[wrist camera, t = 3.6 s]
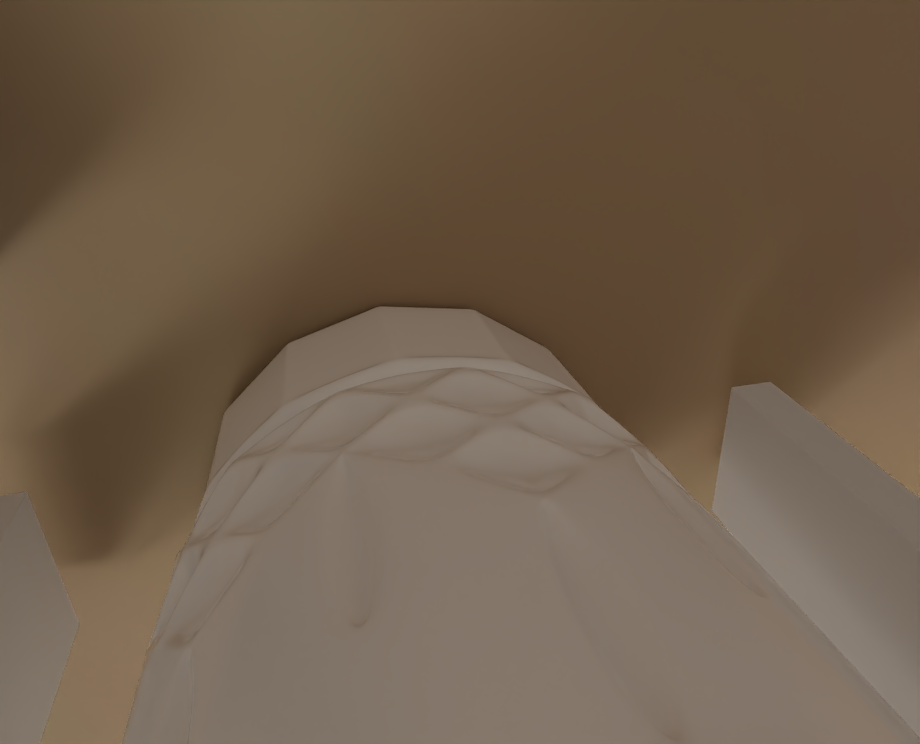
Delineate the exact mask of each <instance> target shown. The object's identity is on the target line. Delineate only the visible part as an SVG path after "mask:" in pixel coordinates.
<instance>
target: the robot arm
mask: <svg viewBox="0 0 920 744" xmlns="http://www.w3.org/2000/svg"><path fill="white" fill-rule="evenodd" d="M712 511H713V513H714V514H715V515H716V516H717V517H718V518H719V520H720V521H721V522H722V523H723V524H724V526H725V527H726V528H727V529H728V530H729V532H730V533H731V534H732V535H733V536H734V538H735V539H736V540H737V541H738V542H739V543H740V544H741V545H742V546H743V547H744V548H745V549H746V550H747V551H748V552H749V553H750V554H751V555H752V556H753V557H754V558H755V559H756V560H757V562H758V563H759V564H760V565H761V566H762V567H763V568H764V569H765V570H766V571H767V572H768V573H769V574H770V575H771V577H772V578H773V579H774V580H775V581H776V582H777V583H778V584H779V585H780V586H781V587H782V588H783V589H784V591H785V592H786V593H787V594H788V595H789V596H790V597H791V598H792V599H793V600H794V601H795V602H796V604H797V605H798V606H799V607H800V608H801V609H802V610H803V611H804V612H805V613H806V614H807V616H808V617H809V618H810V619H811V620H812V621H813V622H814V623H815V624H816V625H817V626H818V627H819V629H820V630H821V631H822V632H823V633H824V634H825V635H826V636H827V637H828V638H829V639H830V640H831V641H832V643H833V644H834V645H835V646H836V647H837V648H838V649H839V650H840V651H841V652H842V653H843V654H844V656H845V657H846V658H847V659H848V660H849V661H850V662H851V663H852V664H853V665H854V666H855V667H856V668H857V670H858V671H859V672H860V673H861V674H862V675H863V676H864V677H865V678H866V679H867V680H868V681H869V683H870V684H871V685H872V686H873V687H874V688H875V689H876V690H877V691H878V692H879V693H880V694H881V696H882V697H883V698H884V699H885V700H886V701H887V702H888V703H889V704H890V705H891V706H892V707H893V709H894V710H895V711H896V712H897V713H898V714H899V715H900V716H901V717H902V718H903V719H904V720H905V722H906V723H907V724H908V725H909V726H910V727H911V728H912V729H913V730H914V731H915V732H916V733H917V735H918V736H919V737H920V498H918V497H917V496H916V495H914V494H913V493H912V492H911V491H909V490H908V489H907V488H906V487H904V486H903V485H902V484H900V483H899V482H898V481H897V480H895V479H894V478H893V477H892V476H890V475H889V474H888V473H886V472H885V471H884V470H883V469H881V468H880V467H879V466H877V465H876V464H875V463H874V462H872V461H871V460H870V459H869V458H867V457H866V456H865V455H863V454H862V453H861V452H860V451H858V450H857V449H856V448H855V447H853V446H852V445H851V444H849V443H848V442H847V441H846V440H844V439H843V438H842V437H840V436H839V435H838V434H837V433H835V432H834V431H833V430H832V429H830V428H829V427H828V426H826V425H825V424H824V423H823V422H821V421H820V420H819V419H818V418H816V417H815V416H814V415H812V414H811V413H810V412H809V411H807V410H806V409H805V408H803V407H802V406H801V405H800V404H798V403H797V402H796V401H795V400H793V399H792V398H791V397H789V396H788V395H787V394H786V393H784V392H783V391H782V390H781V389H779V388H778V387H777V386H775V385H774V384H773V383H772V382H764V383H758V384H751V385H744V386H737V387H732V388H731V394H730V400H729V406H728V412H727V419H726V425H725V431H724V437H723V443H722V450H721V456H720V462H719V468H718V474H717V480H716V487H715V493H714V499H713V505H712ZM78 627H79V621H78V619H77V616H76V614H75V611H74V609H73V606H72V604H71V601H70V599H69V596H68V594H67V591H66V589H65V586H64V584H63V581H62V579H61V576H60V574H59V571H58V569H57V566H56V564H55V561H54V559H53V556H52V554H51V551H50V549H49V546H48V544H47V541H46V539H45V536H44V533H43V531H42V528H41V526H40V523H39V521H38V518H37V516H36V513H35V511H34V508H33V506H32V503H31V501H30V498H29V496H28V493H27V492H22V493H15V494H8V495H1V496H0V744H40V742H41V739H42V736H43V733H44V730H45V727H46V724H47V721H48V718H49V715H50V712H51V709H52V706H53V703H54V700H55V697H56V693H57V690H58V687H59V684H60V681H61V678H62V675H63V672H64V669H65V666H66V663H67V660H68V657H69V654H70V651H71V648H72V645H73V642H74V639H75V636H76V633H77V630H78Z"/></svg>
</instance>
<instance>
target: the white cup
mask: <svg viewBox="0 0 920 744" xmlns="http://www.w3.org/2000/svg"><path fill="white" fill-rule="evenodd" d="M122 744H920V737H919V736H918V735H917V733H916V732H915V731H914V730H913V729H912V728H911V727H910V726H909V725H908V724H907V723H906V722H905V720H904V719H903V718H902V717H901V716H900V715H899V714H898V713H897V712H896V711H895V710H894V709H893V707H892V706H891V705H890V704H889V703H888V702H887V701H886V700H885V699H884V698H883V697H882V696H881V694H880V693H879V692H878V691H877V690H876V689H875V688H874V687H873V686H872V685H871V684H870V683H869V681H868V680H867V679H866V678H865V677H864V676H863V675H862V674H861V673H860V672H859V671H858V670H857V668H856V667H855V666H854V665H853V664H852V663H851V662H850V661H849V660H848V659H847V658H846V657H845V656H844V654H843V653H842V652H841V651H840V650H839V649H838V648H837V647H836V646H835V645H834V644H833V643H832V641H831V640H830V639H829V638H828V637H827V636H826V635H825V634H824V633H823V632H822V631H821V630H820V629H819V627H818V626H817V625H816V624H815V623H814V622H813V621H812V620H811V619H810V618H809V617H808V616H807V614H806V613H805V612H804V611H803V610H802V609H801V608H800V607H799V606H798V605H797V604H796V602H795V601H794V600H793V599H792V598H791V597H790V596H789V595H788V594H787V593H786V592H785V591H784V589H783V588H782V587H781V586H780V585H779V584H778V583H777V582H776V581H775V580H774V579H773V578H772V577H771V575H770V574H769V573H768V572H767V571H766V570H765V569H764V568H763V567H762V566H761V565H760V564H759V563H758V562H757V560H756V559H755V558H754V557H753V556H752V555H751V554H750V553H749V552H748V551H747V550H746V549H745V548H744V547H743V546H742V545H741V544H740V543H739V542H738V541H737V540H736V539H735V538H734V536H733V535H732V534H731V533H730V532H729V531H728V530H727V529H726V528H725V527H724V526H723V525H722V524H721V523H720V522H719V521H718V520H717V519H716V518H715V517H714V516H713V515H711V514H710V513H709V512H708V511H707V510H706V509H705V508H704V507H703V506H702V505H700V504H699V503H698V502H697V501H696V500H695V499H694V498H693V497H691V496H690V494H689V493H688V492H687V491H686V490H685V489H684V487H683V486H682V485H681V484H680V483H679V482H678V480H677V479H676V478H675V477H674V476H673V475H672V474H671V473H670V472H669V470H668V469H667V468H666V467H665V466H664V465H663V464H662V463H661V462H660V461H659V460H658V459H657V458H656V457H655V455H654V454H653V453H652V452H651V451H650V450H649V449H648V448H647V447H646V446H645V445H644V444H642V443H641V442H640V441H639V440H638V439H637V438H636V437H634V436H633V435H632V434H631V433H630V432H629V431H627V430H626V429H625V428H624V427H623V426H622V425H620V424H619V423H618V422H617V421H616V420H614V419H613V418H612V417H611V416H609V415H608V414H607V413H606V412H604V411H603V410H602V409H600V407H599V406H598V405H597V404H596V403H595V402H594V401H593V400H592V398H591V397H590V396H589V395H588V394H587V393H586V391H585V390H584V389H583V388H582V387H581V386H580V385H579V383H578V382H577V381H576V380H575V379H574V378H573V377H572V375H571V374H570V373H569V372H568V371H567V370H566V369H565V367H564V366H563V365H562V364H561V363H560V362H559V361H558V359H557V358H556V357H555V356H554V355H553V354H552V353H551V352H550V351H549V350H548V349H547V348H546V347H544V346H542V345H540V344H538V343H536V342H534V341H532V340H531V339H529V338H527V337H525V336H523V335H521V334H519V333H517V332H515V331H513V330H512V329H510V328H508V327H506V326H504V325H502V324H500V323H498V322H496V321H495V320H493V319H491V318H489V317H487V316H485V315H483V314H481V313H479V312H477V311H475V310H473V309H451V308H417V307H384V306H380V307H376V308H373V309H371V310H368V311H366V312H364V313H361V314H359V315H356V316H354V317H351V318H349V319H346V320H344V321H341V322H339V323H337V324H334V325H332V326H329V327H327V328H324V329H322V330H319V331H317V332H314V333H312V334H309V335H307V336H305V337H302V338H300V339H297V340H295V341H292V342H290V343H288V344H287V345H286V346H285V347H284V348H283V349H282V350H281V351H280V352H279V353H278V355H277V356H276V357H275V358H274V359H273V360H272V361H271V362H270V363H269V364H268V365H267V366H266V367H265V369H264V370H263V371H262V372H261V373H260V374H259V375H258V376H257V377H256V378H255V379H254V380H253V381H252V383H251V384H250V385H249V386H248V387H247V388H246V389H245V390H244V391H243V392H242V393H241V394H240V395H239V397H238V398H237V399H236V400H235V401H234V402H233V403H232V404H231V405H230V406H229V407H228V408H227V410H226V411H225V413H224V416H223V419H222V423H221V427H220V431H219V436H218V440H217V444H216V448H215V452H214V456H213V460H212V464H211V468H210V472H209V476H208V481H207V485H206V489H205V493H204V497H203V499H202V502H201V505H200V508H199V510H198V513H197V516H196V520H195V523H194V527H193V530H192V531H191V533H190V535H189V537H188V539H187V541H186V543H185V545H184V546H183V548H182V549H181V550H180V551H179V553H178V554H177V556H176V560H175V564H174V568H173V572H172V577H171V581H170V585H169V588H168V591H167V593H166V596H165V599H164V602H163V605H162V608H161V611H160V614H159V617H158V620H157V623H156V626H155V629H154V632H153V635H152V638H151V641H150V643H149V646H148V648H147V650H146V655H145V660H144V663H143V667H142V671H141V674H140V678H139V682H138V685H137V689H136V692H135V696H134V700H133V703H132V707H131V711H130V714H129V718H128V722H127V725H126V729H125V733H124V737H123V740H122Z"/></svg>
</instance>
